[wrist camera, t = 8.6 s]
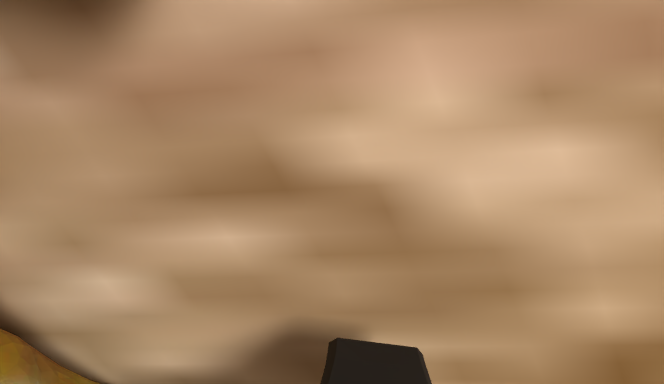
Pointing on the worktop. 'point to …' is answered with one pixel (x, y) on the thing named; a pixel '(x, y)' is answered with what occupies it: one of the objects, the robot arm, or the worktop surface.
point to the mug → (31, 365)
